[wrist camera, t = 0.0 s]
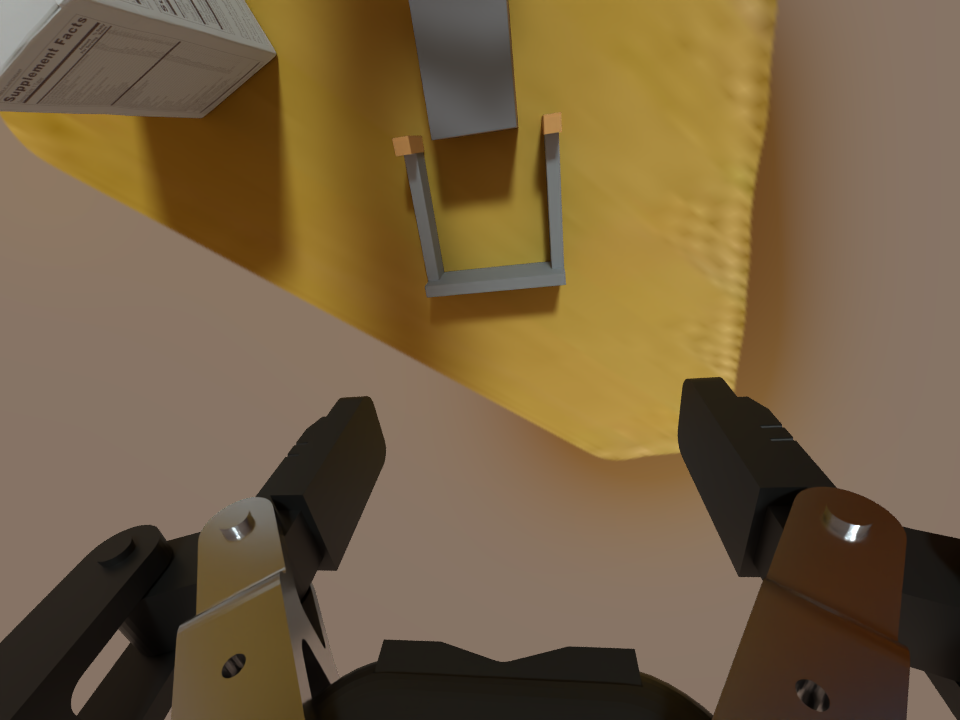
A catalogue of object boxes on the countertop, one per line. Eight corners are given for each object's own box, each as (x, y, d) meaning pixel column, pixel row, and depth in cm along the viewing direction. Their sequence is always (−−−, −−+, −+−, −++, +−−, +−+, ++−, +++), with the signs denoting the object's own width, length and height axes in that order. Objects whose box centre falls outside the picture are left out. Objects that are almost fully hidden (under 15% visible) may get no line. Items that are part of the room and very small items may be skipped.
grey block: (424, -1, 30) (404, -26, 25) (506, -18, 29) (502, -48, 24) (445, 139, 34) (431, 140, 30) (518, 127, 34) (516, 126, 29)
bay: (407, 137, 35) (392, 138, 31) (557, 114, 33) (561, 112, 29) (434, 283, 40) (424, 299, 36) (563, 270, 38) (567, 286, 35)
